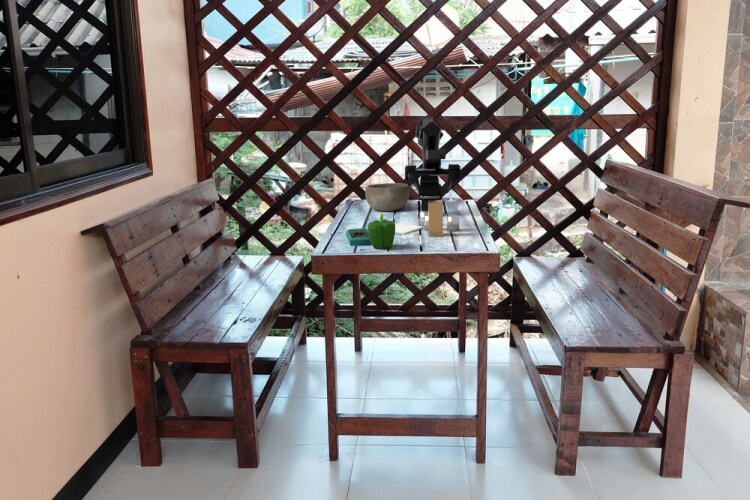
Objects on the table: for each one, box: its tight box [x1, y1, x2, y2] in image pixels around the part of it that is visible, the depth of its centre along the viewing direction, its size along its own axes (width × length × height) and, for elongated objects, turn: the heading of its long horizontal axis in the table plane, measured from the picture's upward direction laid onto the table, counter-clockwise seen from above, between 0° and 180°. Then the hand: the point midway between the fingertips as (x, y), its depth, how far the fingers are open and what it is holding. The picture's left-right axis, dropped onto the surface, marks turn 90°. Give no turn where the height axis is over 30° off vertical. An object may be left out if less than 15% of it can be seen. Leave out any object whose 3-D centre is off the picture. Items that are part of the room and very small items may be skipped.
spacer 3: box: [446, 214, 460, 233], centre depth 217 cm, size 4×4×5 cm
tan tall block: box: [427, 200, 444, 238], centre depth 210 cm, size 4×4×11 cm
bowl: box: [364, 182, 410, 212], centre depth 260 cm, size 17×18×10 cm
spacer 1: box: [419, 210, 428, 226], centre depth 227 cm, size 4×4×5 cm
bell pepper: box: [367, 213, 396, 249], centre depth 197 cm, size 8×8×10 cm
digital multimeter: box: [345, 227, 372, 247], centre depth 208 cm, size 7×15×3 cm, turn 7°
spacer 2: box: [423, 214, 428, 232], centre depth 220 cm, size 4×4×5 cm
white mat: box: [394, 222, 424, 235], centre depth 223 cm, size 12×14×1 cm
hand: (433, 192), depth 216 cm, fingers open, 9 cm apart
